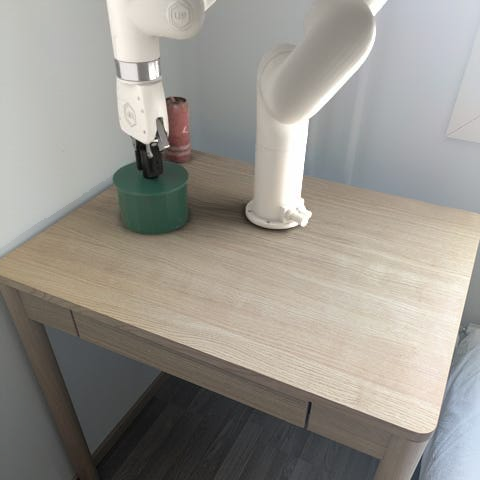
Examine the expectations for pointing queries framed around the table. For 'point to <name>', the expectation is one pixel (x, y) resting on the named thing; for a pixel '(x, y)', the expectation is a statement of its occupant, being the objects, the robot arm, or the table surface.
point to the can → (178, 130)
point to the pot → (154, 211)
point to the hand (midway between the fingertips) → (150, 170)
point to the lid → (143, 185)
